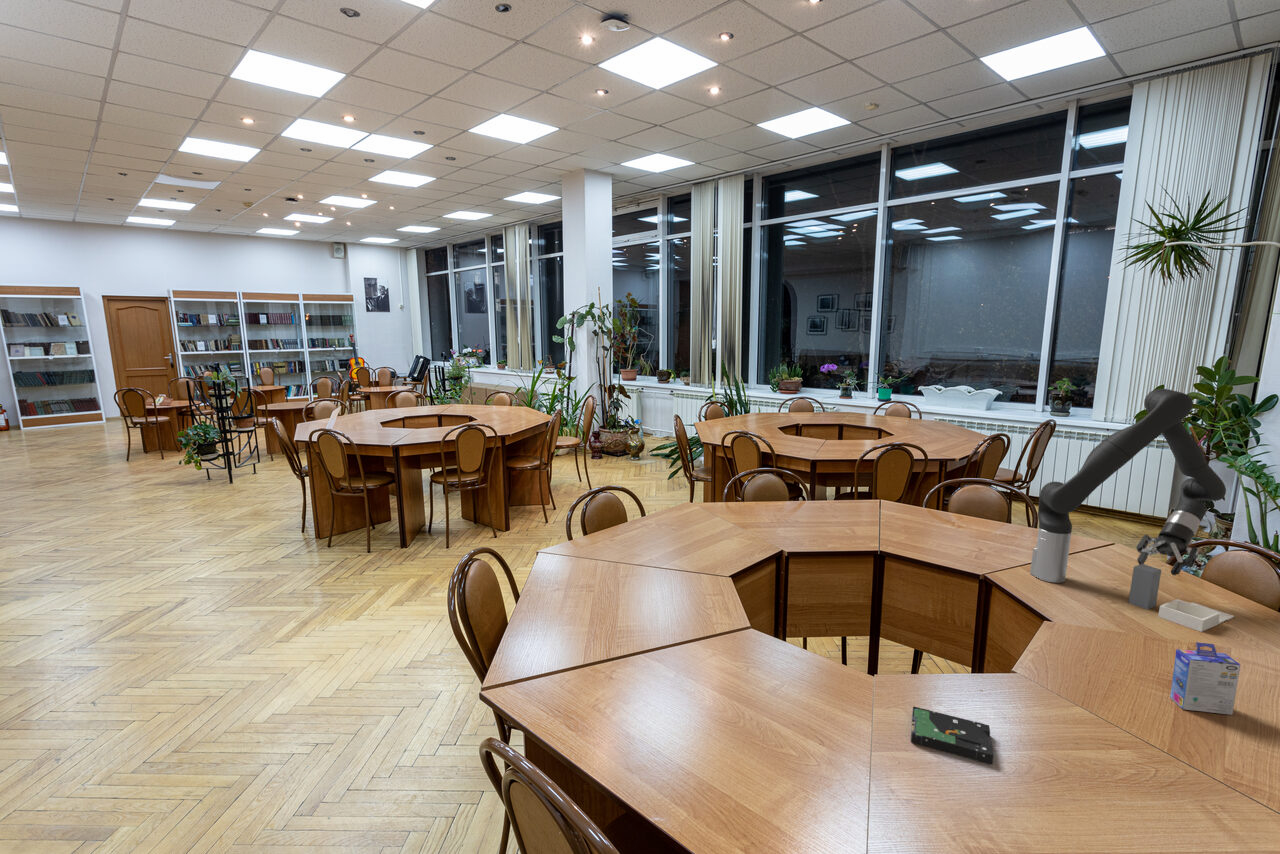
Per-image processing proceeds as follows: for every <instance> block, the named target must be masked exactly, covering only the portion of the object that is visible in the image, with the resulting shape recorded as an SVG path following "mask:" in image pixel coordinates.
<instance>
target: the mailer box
mask: <svg viewBox="0 0 1280 854" xmlns="http://www.w3.org/2000/svg"><path fill="white" fill-rule="evenodd" d="M1158 609H1159V610H1158V615H1157V616H1158V618H1161V619H1164V620H1166V621H1170V622H1172V623H1176V624H1178V625H1181V626H1184V627H1186V628H1190V629H1193V630H1194V631H1195V630H1196V631H1198V632H1201V633H1202V632H1205V631H1207V630H1209V629H1212V628H1213V627H1216V626H1218V625H1220V624H1223V623H1225V622H1227V621H1230V620H1231V619H1234V618H1235V615H1232V614H1230V613H1226V612H1223V611H1220V610H1217V609H1214V608H1211V607H1208V606H1205V605H1203V604H1200V603H1199V604H1198V603H1196V602H1193V601H1191V602H1187V601H1184V600H1181V599H1178V598H1176V599H1174V600H1170V601H1169V602H1166V603H1163V604H1161V605H1160V606H1159V608H1158ZM1233 617H1234V618H1233ZM1226 620H1227V621H1226ZM1224 621H1225V622H1224ZM1222 622H1223V623H1222Z"/></svg>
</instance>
